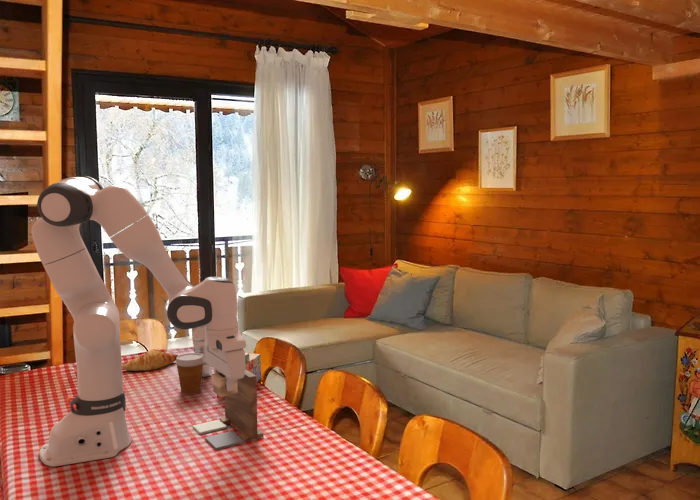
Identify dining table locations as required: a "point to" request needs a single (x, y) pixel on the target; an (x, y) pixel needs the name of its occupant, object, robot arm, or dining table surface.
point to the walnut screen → (243, 408)
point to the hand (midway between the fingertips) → (224, 386)
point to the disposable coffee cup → (190, 372)
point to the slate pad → (224, 440)
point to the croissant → (150, 361)
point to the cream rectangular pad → (209, 426)
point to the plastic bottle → (201, 348)
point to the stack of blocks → (252, 365)
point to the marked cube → (222, 385)
